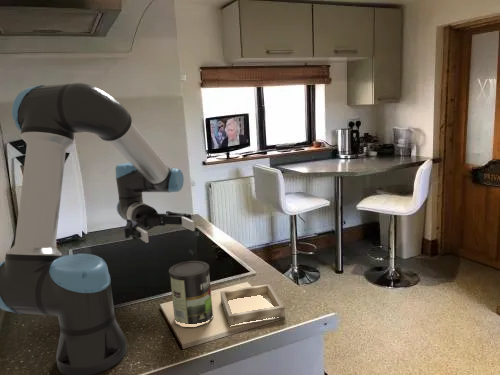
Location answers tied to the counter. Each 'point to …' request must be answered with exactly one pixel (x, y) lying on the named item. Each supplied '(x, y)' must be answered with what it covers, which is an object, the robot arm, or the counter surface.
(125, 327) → the counter surface
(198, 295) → the coffee can
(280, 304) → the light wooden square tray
